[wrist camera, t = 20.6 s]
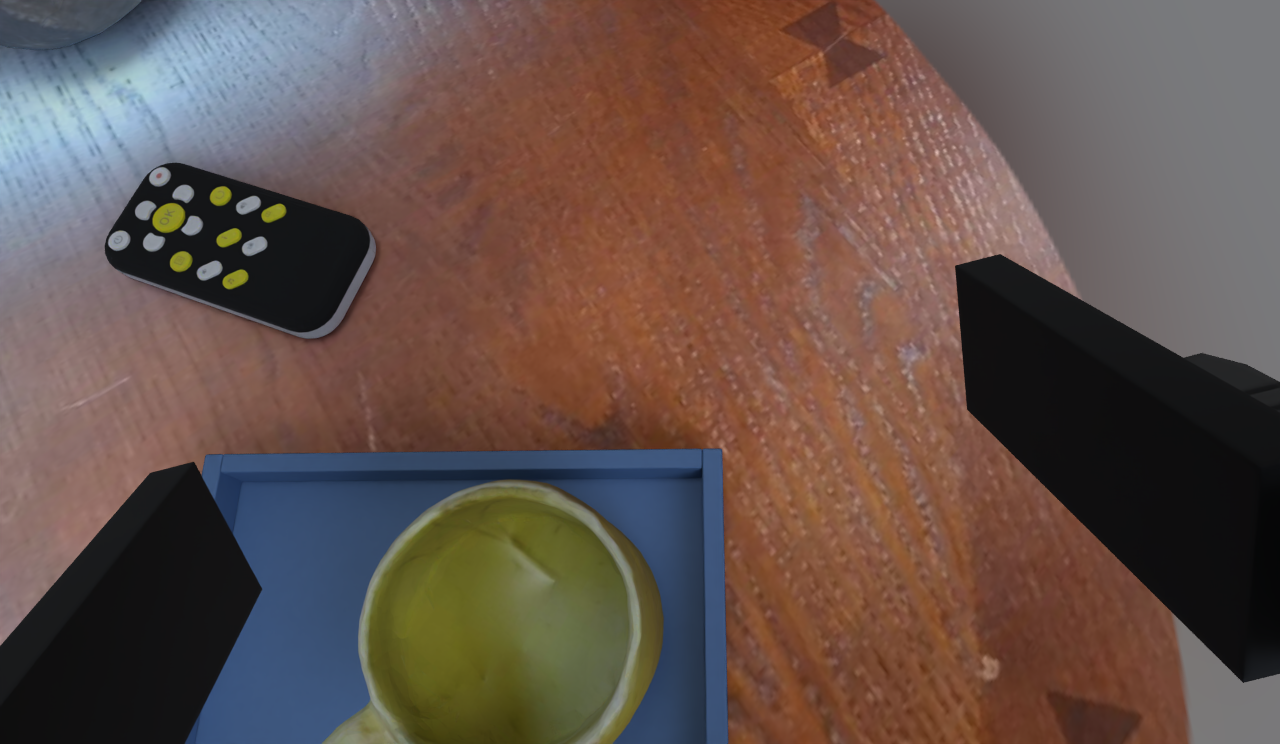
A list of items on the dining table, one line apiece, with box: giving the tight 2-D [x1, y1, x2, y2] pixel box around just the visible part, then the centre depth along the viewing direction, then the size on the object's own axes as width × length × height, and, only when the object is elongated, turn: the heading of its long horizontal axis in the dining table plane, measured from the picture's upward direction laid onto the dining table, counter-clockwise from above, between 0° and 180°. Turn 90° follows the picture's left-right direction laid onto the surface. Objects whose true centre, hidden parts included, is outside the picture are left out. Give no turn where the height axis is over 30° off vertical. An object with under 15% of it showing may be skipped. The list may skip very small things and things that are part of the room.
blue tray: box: [185, 449, 728, 744], centre depth 32 cm, size 22×22×2 cm
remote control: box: [105, 163, 376, 339], centre depth 40 cm, size 6×13×2 cm, turn 69°
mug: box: [322, 479, 664, 744], centre depth 30 cm, size 12×10×10 cm
